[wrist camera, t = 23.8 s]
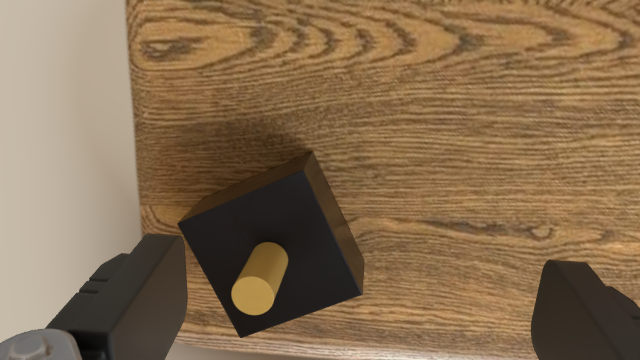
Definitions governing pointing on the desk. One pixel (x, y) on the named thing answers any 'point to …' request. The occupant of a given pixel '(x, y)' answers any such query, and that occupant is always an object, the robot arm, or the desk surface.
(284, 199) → the ring stand
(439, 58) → the desk surface
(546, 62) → the desk surface
